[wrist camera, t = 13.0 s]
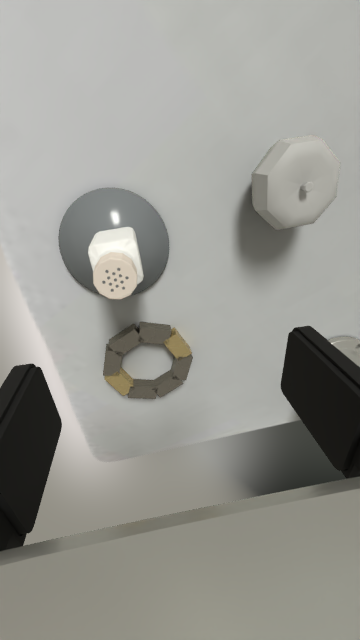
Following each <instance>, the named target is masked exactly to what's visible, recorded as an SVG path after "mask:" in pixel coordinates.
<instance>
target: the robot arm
mask: <svg viewBox="0 0 360 640" xmlns="http://www.w3.org/2000/svg"><path fill="white" fill-rule="evenodd" d="M281 390H282V392H283V394H284V395H285V397H286V398H287V400H288V401H289V403H290V404H291V406H292V407H293V408H294V410H295V411H296V413H297V414H298V416H299V417H300V419H301V420H302V421H303V423H304V424H305V426H306V427H307V429H308V430H309V431H310V433H311V434H312V435H313V437H314V439H315V440H316V441H317V443H318V444H319V445H320V447H321V449H322V450H323V452H324V453H325V454H326V456H327V457H328V459H329V460H330V462H331V463H332V464H333V466H334V467H335V468H336V469H337V470H339V471H340V470H341V471H342V473H343V474H344V475H345V477H346V479H343V480H338V481H333V482H328V483H323V484H318V485H313V486H308V487H303V488H298V489H293V490H288V491H283V492H278V493H273V494H268V495H263V496H258V497H253V498H248V499H244V500H238V501H234V502H228V503H223V504H218V505H213V506H209V507H204V508H199V509H194V510H189V511H185V512H180V513H175V514H170V515H165V516H160V517H155V518H151V519H146V520H141V521H137V522H132V523H127V524H122V525H117V526H112V527H108V528H103V529H98V530H94V531H89V532H84V533H79V534H75V535H70V536H65V537H61V538H56V539H52V540H48V541H43V542H40V543H34V544H30V545H26V546H23V544H24V541H25V537H26V534H27V533H30V532H31V531H32V529H33V527H34V524H35V520H36V516H37V513H38V510H39V506H40V502H41V498H42V495H43V492H44V488H45V485H46V481H47V478H48V474H49V471H50V467H51V464H52V460H53V457H54V453H55V450H56V446H57V443H58V439H59V436H60V432H61V427H62V423H61V418H60V416H59V413H58V411H57V408H56V406H55V403H54V400H53V398H52V395H51V393H50V390H49V388H48V385H47V382H46V380H45V377H44V375H43V372H42V370H41V368H40V367H36V366H35V365H34V364H26V365H19V366H15V367H13V369H12V370H11V372H10V373H9V375H8V377H7V378H6V380H5V381H4V383H3V384H2V386H1V388H0V640H360V340H358V339H356V338H353V337H347V336H346V337H337V338H332V339H330V340H327V339H325V338H324V337H323V336H322V335H321V334H319V333H318V332H317V331H316V330H315V329H313V328H312V327H311V326H304V327H297V328H294V329H293V330H292V332H290V333H289V335H288V342H287V348H286V354H285V361H284V367H283V373H282V380H281Z"/></svg>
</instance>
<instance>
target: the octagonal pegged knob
mask: <svg viewBox="0 0 360 640" xmlns="http://www.w3.org/2000/svg"><path fill="white" fill-rule="evenodd" d="M340 164H341V162H340V161H339V160H338V159H337V157H336V156H335V155H334V153H333V152H332V151H331V150H330V148H329V147H328V146H327V144H326V143H325V142H324V140H323V139H321V138H319V137H317V136H315V135H308V136H302V137H296V138H289V139H283V140H279V141H278V142H277V143H275V144H274V145H273V146H272V147H271V148H270V149H269V150H268V152H267V153H266V155H265V156H264V157H263V159H262V160H261V162H260V163H259V164H258V166H257V167H256V169H255V170H254V172H253V173H252V205H253V207H254V209H255V211H256V212H257V213H258V214H260V215H261V216H262V217H263V218H264V219H265V220H266V221H267V222H268V223H269V224H270V225H271V226H272V227H273V228H274V229H275V230H280V229H286V228H291V227H297V226H302V225H307V224H312V223H314V222H315V221H316V220H317V219H318V218H319V216H320V215H321V214H322V213H323V212H324V211H325V209H326V208H327V207H328V206H329V205H330V204H331V202H332V201H333V200H334V199H335V198H336V193H337V186H338V179H339V171H340Z"/></svg>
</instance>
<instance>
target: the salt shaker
mask: <svg viewBox="0 0 360 640" xmlns="http://www.w3.org/2000/svg"><path fill="white" fill-rule="evenodd" d="M88 255H89V258H90V262H91V266H92V269H93V284H94V286H95V287H96V289H97V290H98V292H99V293H100V294H102V295H103V296H105V297H107V298H109V299H123V298H125V297H127V296H129V295H131V294H132V292H133V291H134V289H135V288H136V287H137V284H139V283H140V282H141V281H143V277H144V275H143V269H142V263H141V258H140V253H139V248H138V243H137V239H136V234H135V231H134V229H133V228H131V227H123V228H117V229H111V230H105V231H99V232H98V233H96V234H95V235H94V238H93V240H92V242H91V244H90V246H89V249H88Z"/></svg>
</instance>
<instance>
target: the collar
mask: <svg viewBox="0 0 360 640" xmlns="http://www.w3.org/2000/svg"><path fill="white" fill-rule="evenodd" d="M140 343H152V344H163V345H166V347H167V348H168V349H169V350H170V351H171V352H172V354H173V355H174V360H173V364H172V368H171V370H170V371H168V372H166V373H165V374H163V375H161V376H160V377H158V378H157V379H155V380H141V379H133V378H131V377H130V376H129V375H128V374H127V373H126V372H125V371H124V370H123V369H122V368H121V360H122V355H123V354H125V353H126V352H128V351H129V350H131V349H132V348H134V347H135V346H137V345H138V344H140ZM192 358H193V357H192V352H191V349H190V347H189V345H188V344H187V343H186V342H185V340H184V339H183V338H182V337H181V335H180V334H179V333H178V331H177V330H176V329H175V328H173V329H171V327H170V325H164V324H155V323H146V322H140V323H139V328H138V327H137V326H136V325H135V324H132V325H131V326H129V327H128V328H126V329H125V330H123V331H122V332H120V333H119V334H117V335H115V336H114V337H112V338H111V339H109V344H107V345H106V353H105V362H104V370H103V375H105V380H106V381H107V382H108V383H109V384H110V385H111V386H113V387H114V388H115V389H116V390H117V391H118V392H119V393H120V394H122V395H123V396H124V395H126V394H127V393H128V398H150V399H156V395H158V396H159V397H162V396H164V395H165V394H167V393H169V392H170V391H172V390H174V389H175V388H177V387H178V386H180V385H182V384H183V381H182V380H186V379H187V375H188V372H189V368H190V365H191V362H192Z"/></svg>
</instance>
